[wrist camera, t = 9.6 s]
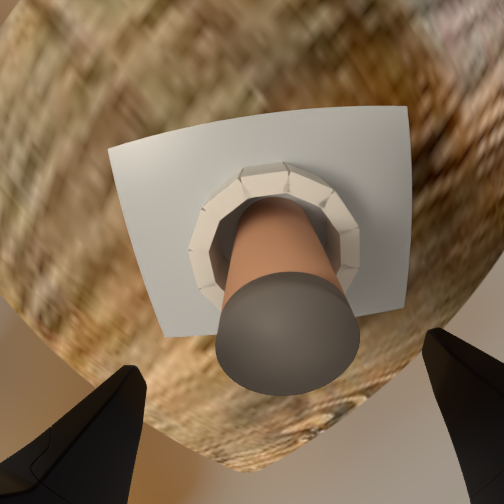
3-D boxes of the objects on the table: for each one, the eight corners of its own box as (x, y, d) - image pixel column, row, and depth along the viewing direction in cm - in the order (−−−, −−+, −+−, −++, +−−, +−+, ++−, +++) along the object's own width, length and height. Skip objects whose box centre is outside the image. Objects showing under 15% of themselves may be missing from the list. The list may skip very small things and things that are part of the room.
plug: (307, 192, 17) (363, 278, 8) (313, 261, 18) (355, 385, 9) (230, 202, 17) (199, 299, 8) (243, 270, 19) (231, 400, 10)
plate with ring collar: (401, 106, 15) (437, 105, 11) (400, 301, 20) (422, 336, 17) (113, 147, 16) (77, 156, 13) (167, 331, 22) (152, 369, 18)
